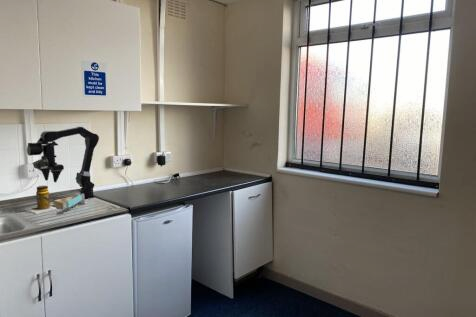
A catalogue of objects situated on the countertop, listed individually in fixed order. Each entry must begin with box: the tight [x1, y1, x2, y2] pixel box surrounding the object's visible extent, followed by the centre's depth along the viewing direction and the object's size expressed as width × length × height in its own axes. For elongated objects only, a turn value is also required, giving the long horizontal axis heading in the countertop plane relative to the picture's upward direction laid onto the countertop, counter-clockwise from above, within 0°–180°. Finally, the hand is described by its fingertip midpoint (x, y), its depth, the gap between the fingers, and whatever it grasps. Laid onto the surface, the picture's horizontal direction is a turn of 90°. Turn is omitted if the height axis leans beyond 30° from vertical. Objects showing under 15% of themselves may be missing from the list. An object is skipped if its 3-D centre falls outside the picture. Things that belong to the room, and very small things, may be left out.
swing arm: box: [65, 194, 82, 209], centre depth 195 cm, size 16×1×3 cm, turn 179°
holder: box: [52, 193, 86, 209], centre depth 203 cm, size 12×12×6 cm
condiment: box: [31, 185, 53, 211], centre depth 194 cm, size 7×8×12 cm
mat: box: [24, 205, 58, 215], centre depth 194 cm, size 11×11×1 cm
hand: (50, 181), depth 205 cm, fingers open, 9 cm apart
